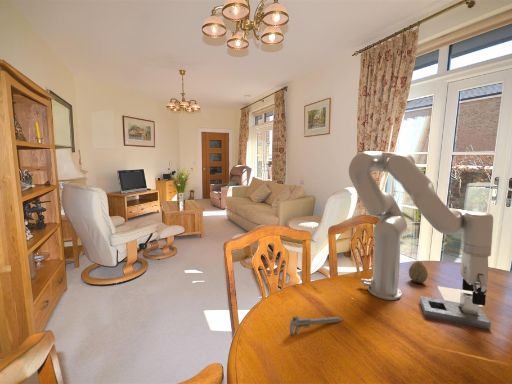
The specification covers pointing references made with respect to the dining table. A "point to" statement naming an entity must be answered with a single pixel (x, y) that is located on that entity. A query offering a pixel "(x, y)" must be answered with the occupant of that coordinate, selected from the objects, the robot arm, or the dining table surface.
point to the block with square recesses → (452, 313)
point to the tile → (452, 294)
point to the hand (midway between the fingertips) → (472, 297)
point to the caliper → (310, 322)
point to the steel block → (468, 305)
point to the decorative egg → (418, 272)
